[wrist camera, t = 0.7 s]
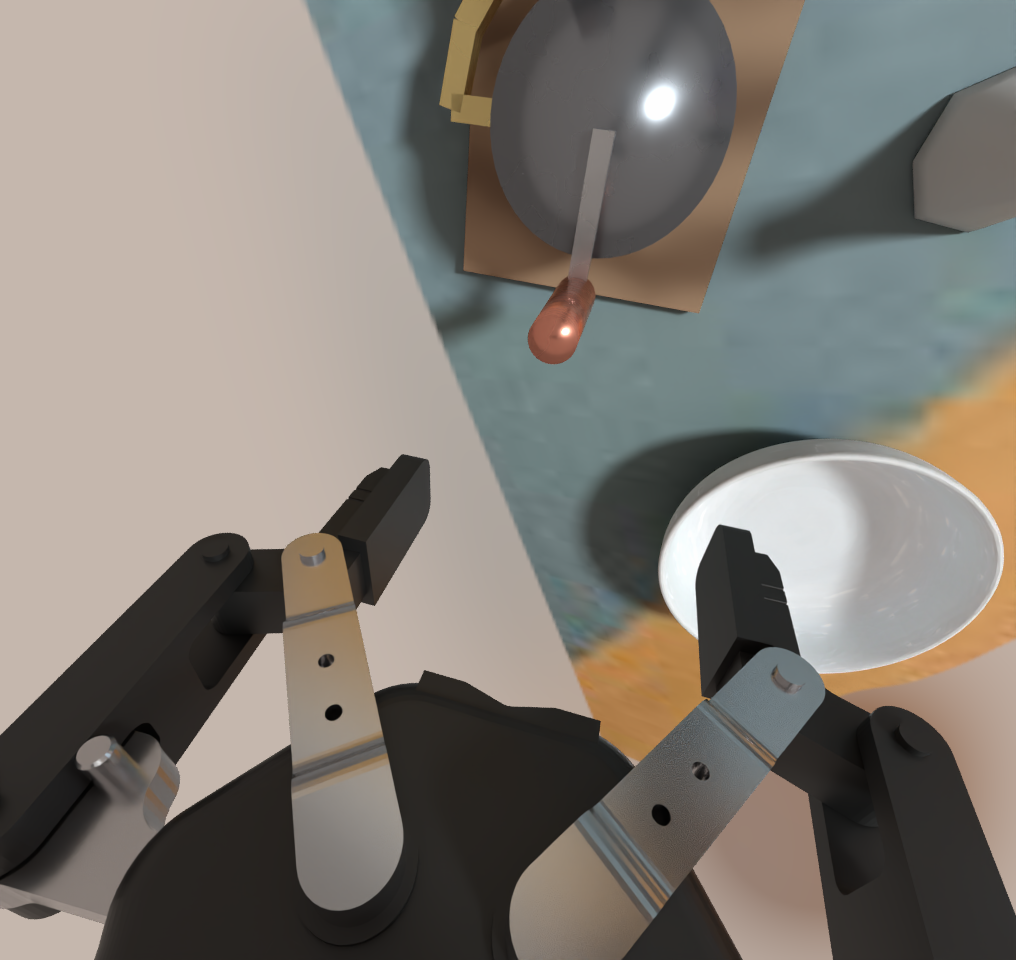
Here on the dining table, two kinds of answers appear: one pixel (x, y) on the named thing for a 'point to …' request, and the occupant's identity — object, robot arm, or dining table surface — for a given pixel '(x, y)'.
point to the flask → (970, 159)
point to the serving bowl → (846, 547)
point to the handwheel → (598, 129)
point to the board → (689, 247)
